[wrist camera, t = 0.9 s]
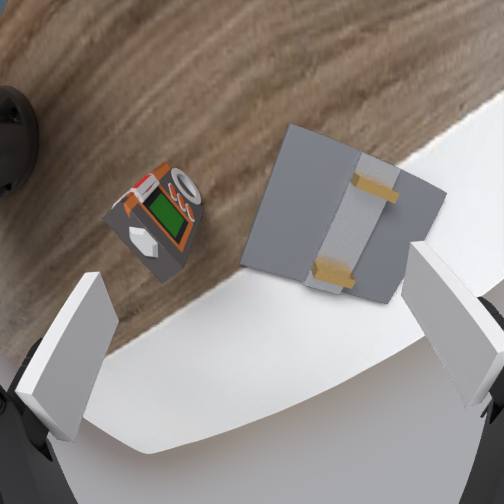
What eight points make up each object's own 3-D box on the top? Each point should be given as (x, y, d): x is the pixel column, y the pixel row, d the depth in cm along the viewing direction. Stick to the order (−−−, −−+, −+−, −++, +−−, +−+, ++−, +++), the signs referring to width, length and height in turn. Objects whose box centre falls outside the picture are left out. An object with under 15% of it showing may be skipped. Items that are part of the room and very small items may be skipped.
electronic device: (210, 199, 36) (186, 269, 23) (190, 214, 37) (157, 288, 23) (172, 152, 33) (122, 196, 20) (152, 169, 34) (95, 221, 21)
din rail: (302, 281, 39) (305, 294, 37) (360, 150, 32) (368, 156, 29) (338, 290, 40) (343, 304, 38) (397, 167, 33) (408, 174, 30)
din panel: (240, 259, 39) (239, 264, 38) (288, 122, 32) (290, 123, 31) (384, 299, 42) (387, 304, 41) (442, 190, 35) (447, 193, 34)
